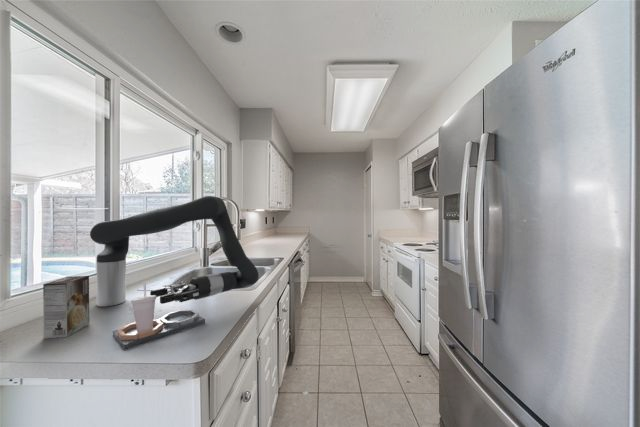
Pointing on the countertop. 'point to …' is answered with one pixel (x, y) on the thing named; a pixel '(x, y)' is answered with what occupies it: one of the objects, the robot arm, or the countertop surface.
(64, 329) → the coffee box
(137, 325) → the smoothie
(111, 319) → the countertop surface
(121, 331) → the terracotta collar
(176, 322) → the grey collar
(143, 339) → the dual ring board
